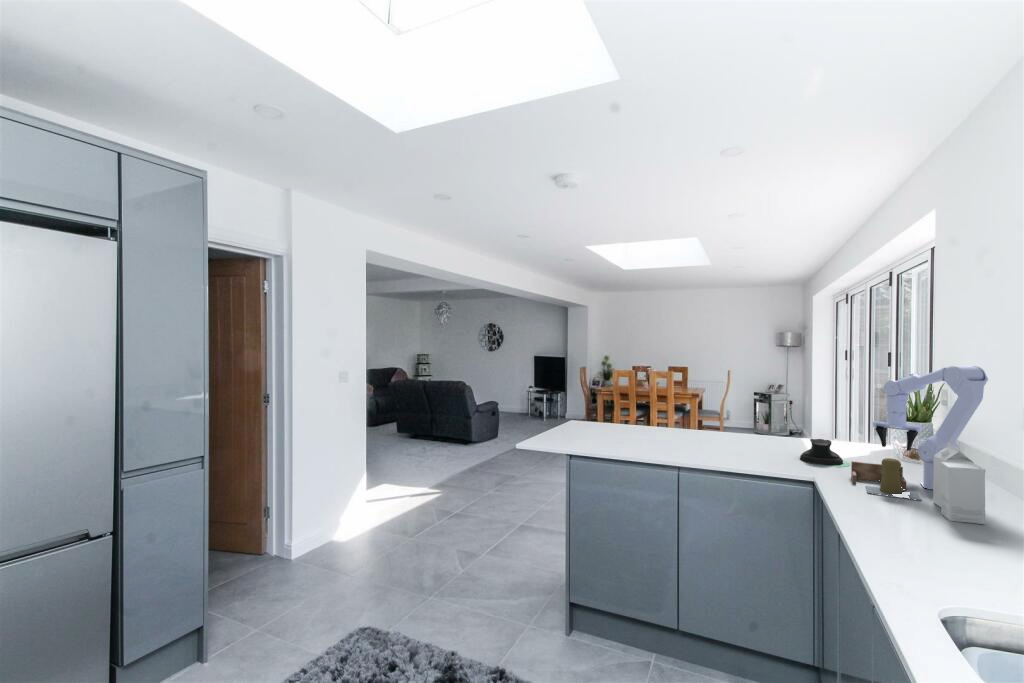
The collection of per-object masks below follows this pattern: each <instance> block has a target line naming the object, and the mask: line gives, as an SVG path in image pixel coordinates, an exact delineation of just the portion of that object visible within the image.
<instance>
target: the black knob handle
mask: <svg viewBox="0 0 1024 683" xmlns="http://www.w3.org/2000/svg"><path fill="white" fill-rule="evenodd" d="M809 441H810V442H811V447H810V449H807V450H805V451H803V452H802V453H801V454H800V456H799V460H800V461H802V462H804V463H809V464H812V465H813V464H814V465H817V466H820V467H830V468H833V467H834V468H837V467H838V468H845V467H848V466H849V467H850V466H851V463H850V462H848V461H844V460H843V458H842V457H841V456H840V455H839V454H838V453H837V452H834V451H833V450H831V446H832V441H831V440H830V439H823V438H809Z"/></svg>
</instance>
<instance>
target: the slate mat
mask: <svg viewBox="0 0 1024 683" xmlns="http://www.w3.org/2000/svg"><path fill="white" fill-rule="evenodd" d="M866 489H867V490H866ZM865 490H866V493H867V492H868V493H873V494H872V495H874V494H881V495H888V496H893V495H892V494H889V493H884V492H881V491H880V487H875V486H868V485H865ZM909 492H910V495H908V496H909V498H910V499H916V500H915V501H917V500H922V501H923V499H922V498H921V496H920V495H919V494H918V492H914V491H909ZM868 493H867V494H868ZM881 495H880V496H881ZM888 496H887V497H888Z"/></svg>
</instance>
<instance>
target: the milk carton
mask: <svg viewBox="0 0 1024 683" xmlns="http://www.w3.org/2000/svg"><path fill="white" fill-rule="evenodd" d="M941 462H947V463H962V464H975V462H974V461H973V460H972V459H970V458H969V457H968V456H966V455H965V454H964V453H962V452H961V448H960V447H956V446H953V445H951V444H948V443H947V447H946V448H944V449H942V450H940V452H938V453H937V454H935V455H934V479H933V489H932V490H933V493H932V494H933V495H932V496H933V497H932V498H933V499H932V500H933V501H932V502H933V504H935V505H936V506H938V507H939V508H941Z"/></svg>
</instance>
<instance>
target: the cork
mask: <svg viewBox="0 0 1024 683" xmlns="http://www.w3.org/2000/svg"><path fill="white" fill-rule="evenodd" d="M881 464H882V466H883V474H882V479H881V481H880V485H879V486H880V487H879V488H880V491H881V492H884V493H889V494H902V491H903V490H902V488H901V481H900V474H899V469H900V468H901V467H902V463H901V461H900V460H899V459H896V458H889V457H888V458H886V457H885V458H883V459H882V460H881Z"/></svg>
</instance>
